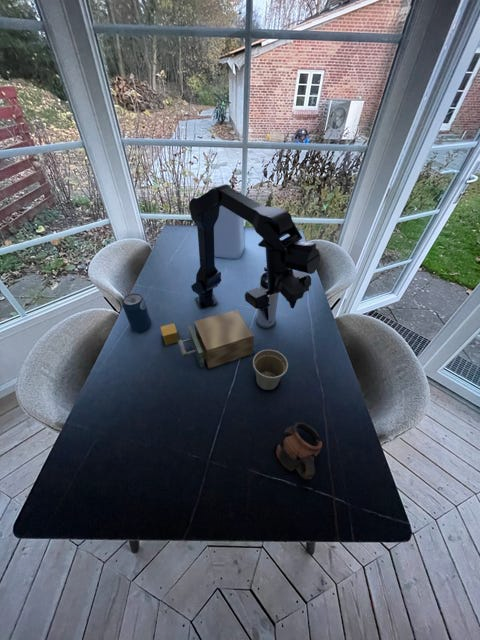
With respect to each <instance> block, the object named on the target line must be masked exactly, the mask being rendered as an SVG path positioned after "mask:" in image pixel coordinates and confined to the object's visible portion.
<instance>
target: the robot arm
mask: <svg viewBox="0 0 480 640" xmlns="http://www.w3.org/2000/svg"><path fill="white" fill-rule="evenodd" d="M220 206H223V207H225V208H226V209H228V210H230V211H231V212H233V213H235V214H236V215H238V216H240V217H241V218H243V220H244V221H246V222H248V223H249V224H251V226H253V228H254V229H253V230H254V231H255V233H256V234H257V235H259V236H260V237H261V238H262V239H261V241H259V243H258V244H257V245H258V247H260V248H264V249H265V260H266V261H265V262H266V266H264V267H263V271H264V273H266V272H267V278H268V280H267V281H265V285H267V286H268V289H266V290H263V291H262V290H261V289H260V287H254V288H252V289H250V290H247V291H246V292H245V293H244V300H245V302H246V303H247V304H248V305H250V306H252V308H254V309H255V310H258V309H259V310H260V312H261V313H262V315H263V316H264V318H265V320H267V321H268V319H269V315H268V307H269V306H270V304H268V303H269V297H270V296H272V295H275V294H277V293H279V294H281V295H282V296H283V297H284V298H285V300H286V301H287V302H288V303H289V307H290V309H292V310H293V309H294V308H295V306H296V304H297V301H298V300H299V299H302V298H303V297H304V295H305V293H306V292H309V291H310V286H312V277H311V275H313V274H315V273H316V271H317V269H318V268H319V265H320V262H321V254H320V251H319V249H318V248H317V244H316V242H307V241H306V242H305V241H301V240H303V236H302V234H301V232H300V231H299V229H298V228H297V226H296V224H295V222H294V220H293V218H292V214H291V213H290V212H289V211H287V210H285V209H283V208H279V207H276V206H266V205H263V204H260V203H259V202H257V201H255V200H254V199H252V198H250V197H248V196H246V195H245V194H243V193H241V192H240V191H238V190H236V189H234V188H232V187H231V185H229V184H227V183H221V184H219V185H216V186H213V187H212V188H211V189H209V190H208V191H206V192H205V193H203V194H202V195H199V196H196V197H192V198H191V200H189V203H188V209H189V213H190V219H191V220H192V222H193V223H194V224H195V225H196V229H197V240H198V241H197V242H198V255H199V268H198V270H197V272H196V275H195V282H194V283H192V285H190V287H191V291H192V292H193V293H195V294H197V296H196V298H195V299H196V302H197V303H198V306H199V307H200V309H204V308H208V307H212V306H216V305H218V302H217V300H216V299H215V297H214V289H215V288H218V286H219V285H220V284H221V282H222V272H221V271H220V270H218V268H217V267H216V258H215V252H214V225H215V223H216V221H217V219H218V217H219V209H220ZM287 235H288V236H287ZM285 236H287V237H285ZM283 237H285V238H283ZM282 238H283V239H282Z"/></svg>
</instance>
